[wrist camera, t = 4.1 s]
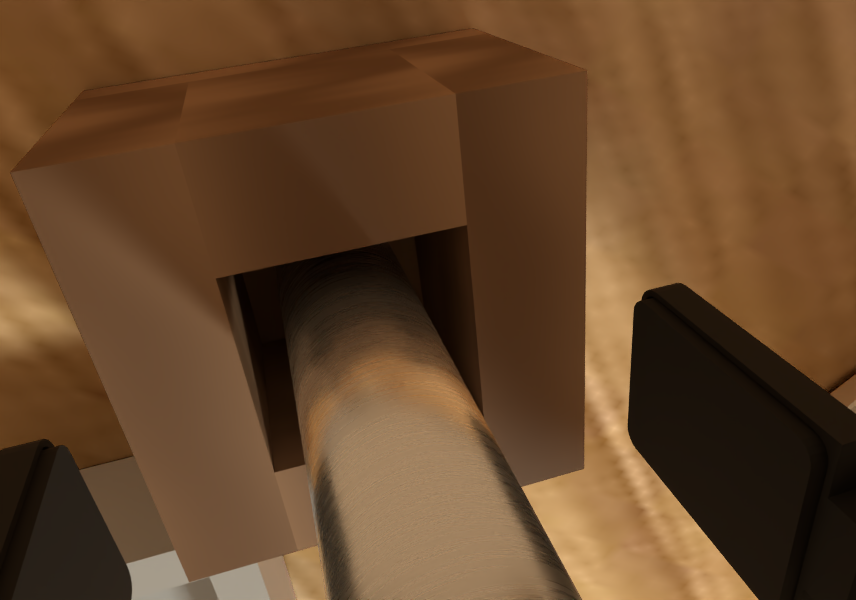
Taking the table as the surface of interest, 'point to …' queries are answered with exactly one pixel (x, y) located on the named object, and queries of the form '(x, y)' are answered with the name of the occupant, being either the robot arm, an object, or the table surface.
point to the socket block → (312, 237)
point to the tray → (169, 545)
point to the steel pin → (401, 447)
